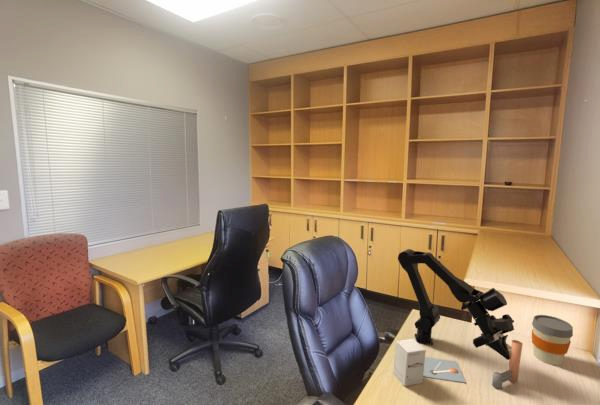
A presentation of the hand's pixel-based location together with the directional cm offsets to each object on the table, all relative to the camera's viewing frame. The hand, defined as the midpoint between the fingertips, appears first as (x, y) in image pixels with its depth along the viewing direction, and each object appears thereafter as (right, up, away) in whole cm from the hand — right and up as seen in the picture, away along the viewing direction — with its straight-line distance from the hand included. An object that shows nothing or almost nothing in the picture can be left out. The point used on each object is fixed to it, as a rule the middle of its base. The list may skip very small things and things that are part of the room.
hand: (509, 359), depth 115 cm
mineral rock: (+9, -5, +20) cm, 22 cm away
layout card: (-22, -6, +5) cm, 24 cm away
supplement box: (-36, -6, -1) cm, 37 cm away
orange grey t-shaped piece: (-3, -7, -2) cm, 8 cm away
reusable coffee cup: (+24, -6, +13) cm, 28 cm away
